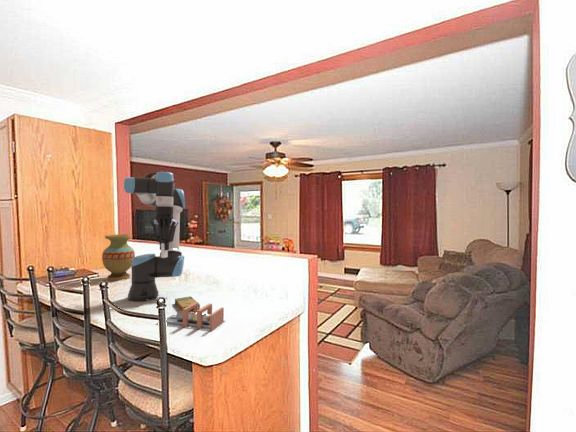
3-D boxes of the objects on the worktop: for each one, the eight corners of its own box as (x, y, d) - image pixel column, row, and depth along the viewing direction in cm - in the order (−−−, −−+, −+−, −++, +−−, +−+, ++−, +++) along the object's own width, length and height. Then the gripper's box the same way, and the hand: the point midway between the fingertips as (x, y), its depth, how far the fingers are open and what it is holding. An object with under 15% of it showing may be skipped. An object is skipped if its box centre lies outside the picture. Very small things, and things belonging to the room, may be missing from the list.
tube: (175, 321, 126) (176, 310, 128) (180, 320, 130) (182, 310, 131) (209, 325, 122) (211, 314, 123) (214, 324, 126) (215, 314, 127)
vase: (116, 282, 197) (116, 237, 196) (95, 280, 204) (95, 235, 203) (141, 276, 215) (141, 234, 215) (120, 274, 222) (120, 233, 222)
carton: (181, 316, 138) (181, 306, 138) (174, 306, 152) (174, 298, 152) (200, 312, 143) (200, 303, 143) (191, 303, 156) (191, 295, 156)
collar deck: (154, 327, 124) (154, 307, 124) (172, 317, 136) (172, 299, 136) (211, 334, 118) (211, 313, 117) (225, 323, 129) (225, 304, 129)
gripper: (146, 205, 136) (146, 257, 137) (171, 205, 133) (171, 259, 133) (157, 206, 143) (157, 255, 144) (181, 206, 140) (181, 256, 141)
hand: (164, 257), depth 139 cm, fingers closed
